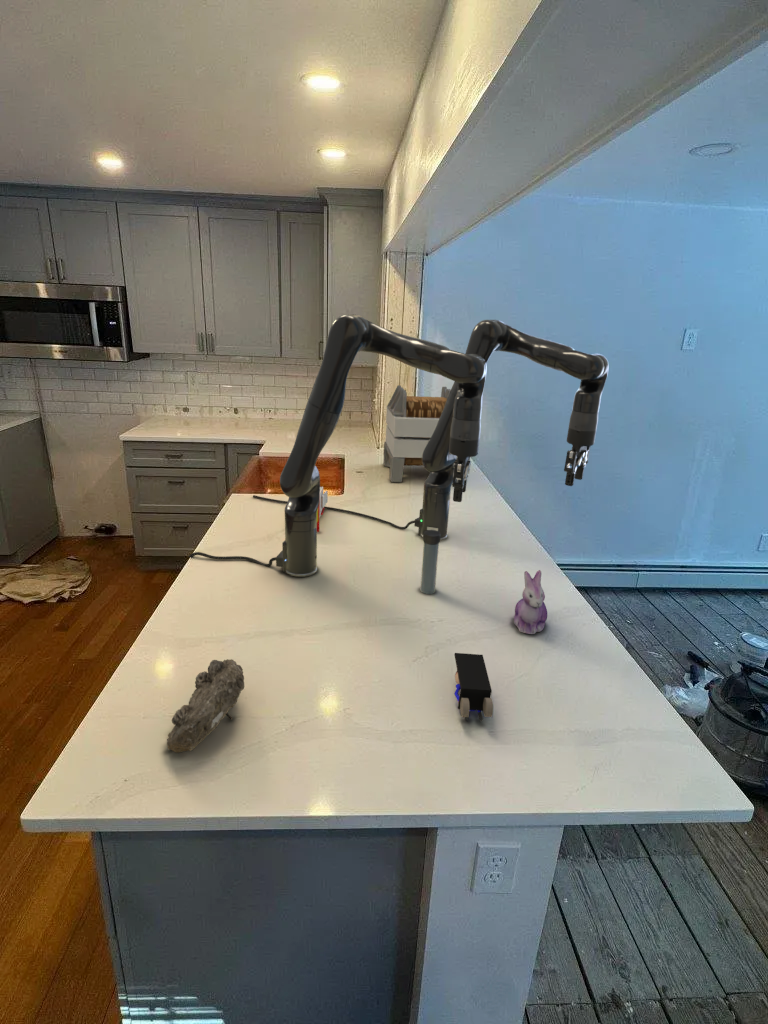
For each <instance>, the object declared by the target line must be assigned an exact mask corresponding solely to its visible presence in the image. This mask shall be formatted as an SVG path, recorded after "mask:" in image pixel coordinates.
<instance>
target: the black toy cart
mask: <svg viewBox="0 0 768 1024" xmlns="http://www.w3.org/2000/svg"><path fill="white" fill-rule="evenodd" d="M454 660H455V666H456V667H455V668H456V671H455V675H454V680H455V683H456V684H455V691H454V697H455V698H456V701H457V709H458V710H459V713H460V717H461V718H464V720H465V721H466V722H468V721H469V716H470V712H477V716H478V721H480V722H483V720H484V718H492V717H493V713H494V704H493V699H492V697H491V696H492V690H493V689H492V687H491V682H490V679H489V674H488V671H487V666H486V662H485V658H484V655H483V654H480V653H479V654H478V653H477V654H476V653H464V652H463V653H461V652H454ZM483 716H484V717H483Z"/></svg>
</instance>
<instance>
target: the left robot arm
mask: <svg viewBox="0 0 768 1024" xmlns="http://www.w3.org/2000/svg"><path fill="white" fill-rule="evenodd" d="M359 352H366V353H373V354H379V355H382V356H386V357H389V358H391V359H393V360H396V361H398V362H400V363H403V364H405V365H407V366H409V367H411V368H413V369H414V368H415V369H418V370H421V371H424V372H427V373H431V374H435V375H439V376H442V377H444V378H446V379H448V380H451V381H453V382H458V388H457V395H456V397H455V400H454V408H453V419H452V423H451V431H450V443H449V453H450V454H452V455H456V456H457V459H456V460H455V462H454V473H453V483H452V487H453V493H452V502H456V503H461V502H462V500H463V493H465V492H466V491H467V482H468V478H469V474H470V470H471V464H472V461H471V458H474V457H477V456H478V455H479V450H480V439H481V430H482V422H481V421H482V411H483V410H482V409H483V395H484V391H485V386H486V379H487V371H488V367H487V364H486V362H485V360H484V359H483V358H482V357H481V356H480V355H478V354H469V355H468V354H465V353H464V352H461V351H457V350H453V349H450V348H449V347H447V346H445V345H442V344H440V343H436V342H432V341H429V340H426V339H421V338H418V337H414V336H410V335H407V334H402V333H398V332H396V331H394V330H393V331H392V330H390V329H387V328H386V327H383V326H380V325H378V324H376V323H374V322H372V321H371V320H369V319H367V318H365V317H363V316H361V315H358V314H349V313H348V314H343V315H339V316H338V317H337V318H336V319H334V320H333V322H332V324H331V325H330V327H329V331H328V335H327V340H326V344H325V349H324V353H323V356H322V362H321V364H320V368H319V370H318V373H317V375H316V377H315V381H314V383H313V386H312V389H311V391H310V394H309V397H308V400H307V402H306V405H305V408H304V411H303V414H302V418H301V421H300V424H299V427H298V430H297V433H296V437H295V439H294V440H295V441H294V444H293V447H292V450H291V452H290V453H289V456H288V458H287V460H286V462H285V465H284V466H283V469H282V471H281V473H280V476H279V486H280V489H281V491H282V493H283V494H284V495H285V496H286V497H288V500H287V501H288V502H287V504H286V503H285V506H284V540H283V541H282V544H281V545H282V546H281V547H282V548H281V549H282V550H281V551H280V552H279V553H278V554H277V555H276V556H275V557H271V558H270V559H269V561H268V563H264V562H261V561H260V560H258V559H256V558H252V557H249V556H239V555H238V556H237V555H233V556H232V555H231V556H219V555H218V556H216V555H211V554H208V553H205V552H201V551H195V552H192V553H190V554H189V555H188V558H193V557H195V556H202V557H204V558H208V559H210V560H218V561H219V560H222V561H223V560H243V561H244V560H245V561H250V562H252V563H254V564H257V565H261V566H263V567H265V568H266V567H268V568H269V567H271V566H272V565H273V562H274V561H275V567H277V568H278V567H279V568H282V572H283V573H285V574H287V575H289V576H290V577H291V576H292V577H297V578H298V577H299V578H305V577H310V576H313V575H315V574H316V573H317V572H318V550H317V549H318V538H317V537H318V532H317V509H318V506H319V497H320V487H321V476H320V471H319V469H318V467H317V466H316V463H317V460H318V458H319V456H320V454H321V452H322V451H323V449H324V447H325V446H326V445H327V443H328V441H329V440H330V438H331V436H332V435H333V433H334V431H335V429H336V427H337V425H338V422H339V419H340V416H341V415H342V414H341V413H342V411H343V408H344V404H345V398H346V389H347V388H346V387H347V379H348V376H349V372H350V370H351V367H352V366H353V362H354V360H355V358H356V356H357V354H358V353H359ZM457 480H458V483H457V482H456V481H457Z"/></svg>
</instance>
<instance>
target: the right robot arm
mask: <svg viewBox="0 0 768 1024" xmlns="http://www.w3.org/2000/svg"><path fill="white" fill-rule="evenodd" d="M467 343H468V344H467V347H466V350H465V353H464V354H468V355H469V354H478V355H480V356H481V357H482V358H483V359H484V360H485V362H486V365H487V364H488V362H489V359H490V358H491V356H492V354H493V353H495V352H505V353H511V354H515V355H518V356H521V357H524V358H526V359H528V360H530V361H531V362H533V363H535V364H538V365H540V366H542V367H545V368H549V369H552V370H555V371H559V372H562V373H564V374H566V375H568V376H571V377H573V378H575V379H577V380H580V383H579V387H578V389H577V390H576V391H575V394H574V397H573V403H572V410H571V414H570V417H569V422H568V429H567V436H566V442H567V444H569V445H571V446H572V447H571V449H570V450H569V449H568V450H567V451H566V456H565V462H564V468H563V471H564V472H565V473H566V475H565V481H564V485H565V486H567V487H573V486H574V483H575V480H579V481H582V480H583V478H584V472H585V468H586V467H587V465H588V463H589V458H590V451H591V447H593V446H594V444H595V441H596V436H597V435H596V434H597V430H598V423H599V412H600V406H601V400H602V394H603V392H604V389H605V385H606V382H607V379H608V375H609V367H610V366H609V361H608V359H607V358H606V356H605V355H603V354H602V353H601V354H600V353H592V354H591V353H587V352H583V351H579V350H576V349H574V348H573V347H572V346H569V345H566V344H563V343H560V342H556V341H552V340H550V339H545V338H542V337H537V336H534V335H531V334H528V333H526V332H523V331H521V330H518V329H517V328H514V326H513V327H512V326H510V325H509V324H507V323H505V322H503V321H501V320H499V319H483V320H481V321H479V322H478V323H476V324H475V326H474V328H473V329H472V331H471V333H470V336H469V340H468V342H467ZM457 388H458V382H455V381H453V384H452V386H451V387H450V390H451V391H450V393H449V395H448V398H447V400H446V403H445V406H444V408H443V411H442V413H441V416H440V418H439V421H438V423H437V426H436V428H435V430H434V432H433V434H432V436H431V438H430V440H429V442H428V444H427V445H426V447H425V449H424V451H423V454H422V464H423V466H422V467H423V468H424V470H425V471H427V472H428V473H429V474H428V476H427V477H426V478H425V480H424V482H423V493H422V496H423V497H422V506H421V508H420V509H419V516H418V517H417V518H414V520H410V521H408V522H407V524H406V525H405V526H399V525H396V524H394V523H393V522H391V521H389V520H388V521H387V520H385V519H382V518H378V517H375V516H373V515H369V514H365V513H361V512H356V511H352V510H349V509H348V510H347V509H343V508H338V507H332V506H326V505H325V506H324V507H325V509H324V510H330V511H336V512H342V513H346V514H352V515H357V516H360V517H364V518H368V519H371V520H374V521H378V522H380V523H383V524H387V525H389V526H391V527H393V528H396V529H399V530H407V529H408V528H409V526H410V525H413V524H414V527H416V528H418V530H417V535H418V536H420V538H421V539H423V534H424V531H426V530H435V531H438V532H440V535H441V537H440V542H441V541H444V540H446V539H447V538H448V525H449V517H450V516H449V514H450V504H451V494H452V493H451V491H452V487H453V485H452V483H453V473H454V462H455V460H456V455H452V454H450V453H449V443H450V431H451V423H452V419H453V408H454V400H455V397H456V395H457ZM252 498H254V499H259V500H262V501H270V502H274V503H281V504H285V505H286V504H287V502H288V500H281V499H274V498H268V497H264V496H258V495H254V494H253V495H252Z"/></svg>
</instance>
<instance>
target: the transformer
mask: <svg viewBox="0 0 768 1024" xmlns="http://www.w3.org/2000/svg"><path fill="white" fill-rule="evenodd" d="M450 391H451V388H447V386H442V387H441V392H440V393H441V394H440V396H415V395H414V396H413V395H412V396H411V395H407V394H408V393H407V390H406V389H404V388H403V387H402V385H399V384H398V385H397V386H396V388H395V390H394V392H393V394H392V395H391V398H390V400H389V402H388V404H387V405H386V413H385V414H386V415H385V423H386V428H385V438H384V442H383V466H384V467H388V468H389V475H388V476H389V477H388V478H389V480H390V482H391V483H402V482H403V475H404V469H405V466H406V467H407V466H411V467H412V466H413V467H415V466H416V467H417V466H418V467H424V466H423V464H422V454H423V451H424V449H425V447H426V445H427V444H428V442H429V440H430V438H431V436H432V434H433V432H434V430H435V428H436V426H437V423H438V421H439V418H440V416H441V413H442V411H443V408H444V406H445V403H446V400H447V398H448V395H449V393H450ZM456 459H457V456H456ZM456 482H457V483H458V480H457V481H456Z"/></svg>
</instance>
